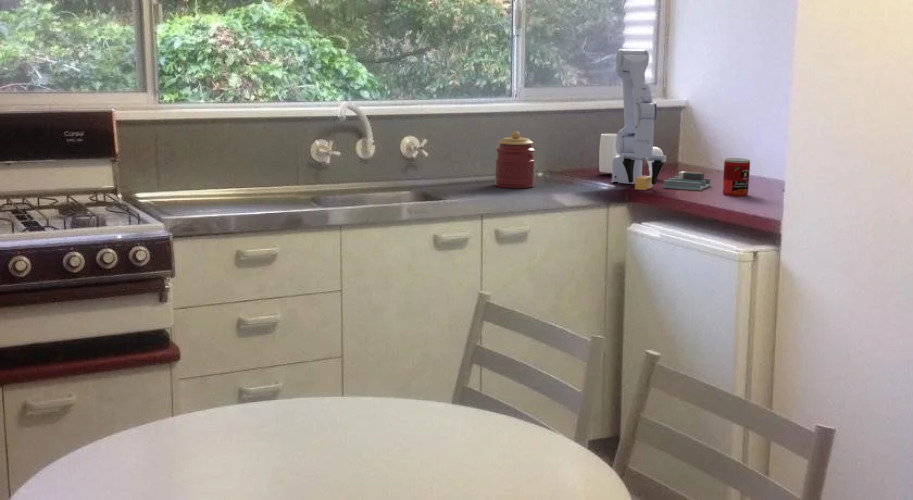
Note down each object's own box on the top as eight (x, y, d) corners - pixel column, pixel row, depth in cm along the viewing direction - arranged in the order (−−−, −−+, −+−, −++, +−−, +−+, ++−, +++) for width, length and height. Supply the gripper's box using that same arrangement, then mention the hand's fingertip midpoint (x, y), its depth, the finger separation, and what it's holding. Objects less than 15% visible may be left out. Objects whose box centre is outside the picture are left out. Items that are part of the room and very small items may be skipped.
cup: (624, 176, 378) (625, 135, 375) (599, 176, 378) (601, 135, 375) (620, 173, 386) (622, 133, 383) (597, 173, 386) (598, 133, 383)
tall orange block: (645, 190, 345) (645, 178, 344) (634, 189, 346) (635, 178, 346) (652, 187, 351) (653, 176, 351) (642, 186, 353) (642, 175, 352)
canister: (513, 182, 358) (514, 128, 355) (543, 186, 349) (544, 131, 346) (486, 185, 349) (487, 130, 346) (515, 189, 340) (517, 133, 337)
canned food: (734, 197, 331) (736, 161, 329) (716, 193, 338) (719, 158, 336) (753, 195, 335) (755, 160, 333) (735, 192, 342) (738, 157, 340)
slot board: (663, 187, 350) (663, 180, 350) (674, 183, 361) (674, 176, 361) (699, 190, 345) (700, 183, 344) (710, 186, 356) (710, 178, 355)
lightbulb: (664, 178, 374) (666, 146, 372) (658, 180, 369) (659, 148, 367) (648, 177, 377) (649, 145, 375) (641, 178, 372) (642, 146, 370)
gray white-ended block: (703, 183, 355) (704, 172, 354) (700, 185, 352) (701, 173, 351) (681, 182, 358) (681, 171, 358) (678, 183, 355) (678, 172, 355)
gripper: (618, 140, 344) (616, 182, 346) (662, 142, 337) (660, 186, 340) (625, 138, 350) (623, 180, 353) (669, 141, 343) (667, 183, 346)
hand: (642, 183), depth 347 cm, fingers open, 7 cm apart
